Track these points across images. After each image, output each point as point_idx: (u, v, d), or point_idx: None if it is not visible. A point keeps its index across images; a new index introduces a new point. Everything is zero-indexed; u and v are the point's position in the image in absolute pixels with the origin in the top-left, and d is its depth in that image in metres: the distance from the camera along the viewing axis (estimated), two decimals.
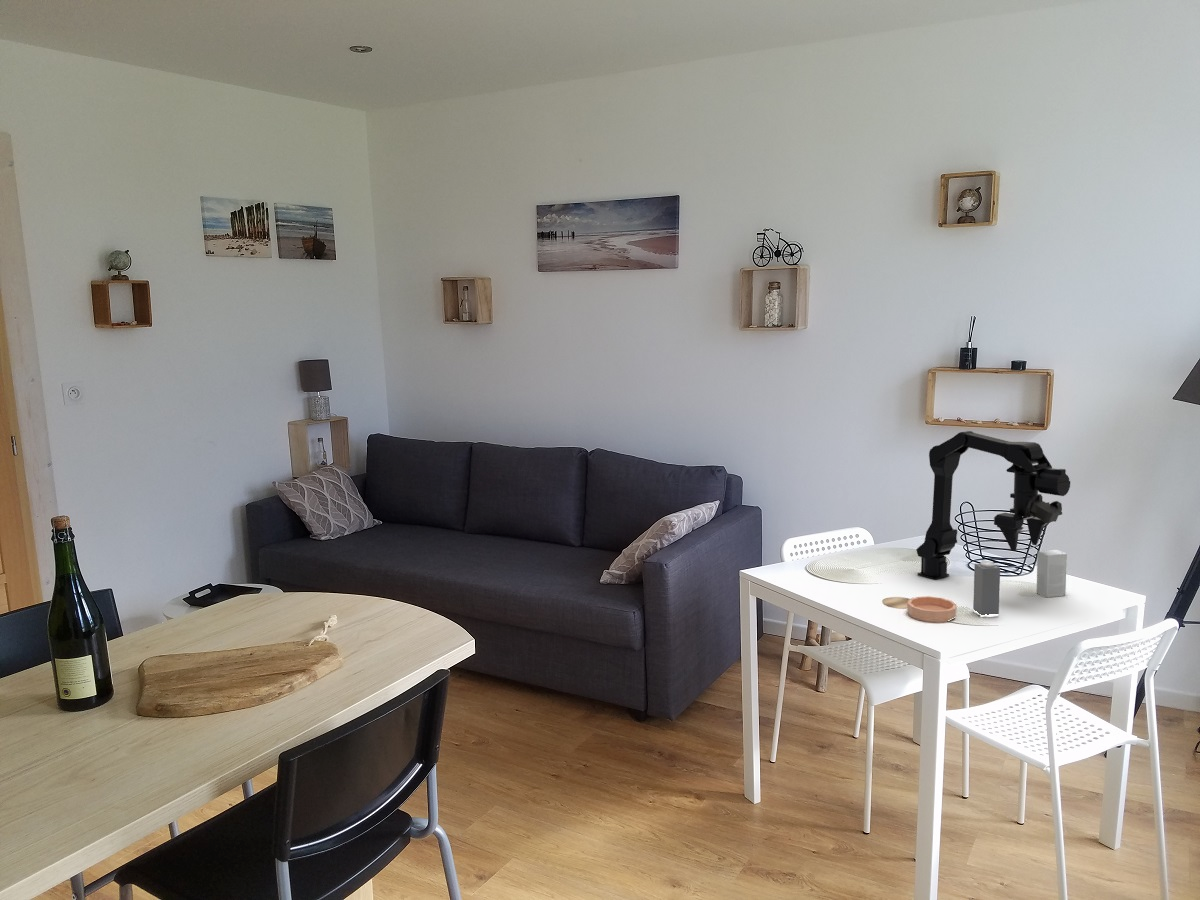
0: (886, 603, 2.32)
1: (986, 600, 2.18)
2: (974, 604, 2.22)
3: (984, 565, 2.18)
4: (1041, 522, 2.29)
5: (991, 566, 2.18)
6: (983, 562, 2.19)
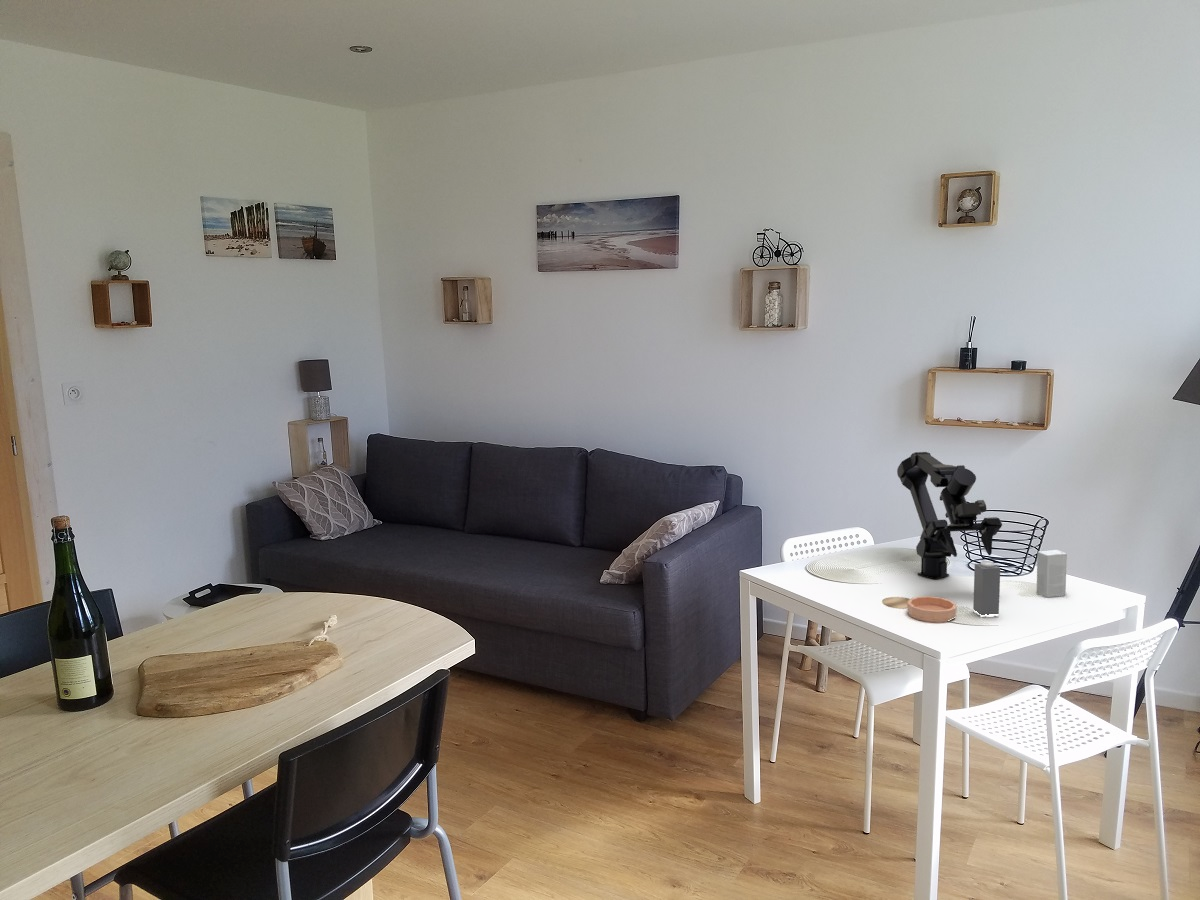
0: (886, 603, 2.32)
1: (986, 600, 2.18)
2: (974, 604, 2.22)
3: (984, 565, 2.18)
4: (986, 530, 2.30)
5: (991, 566, 2.18)
6: (983, 562, 2.19)
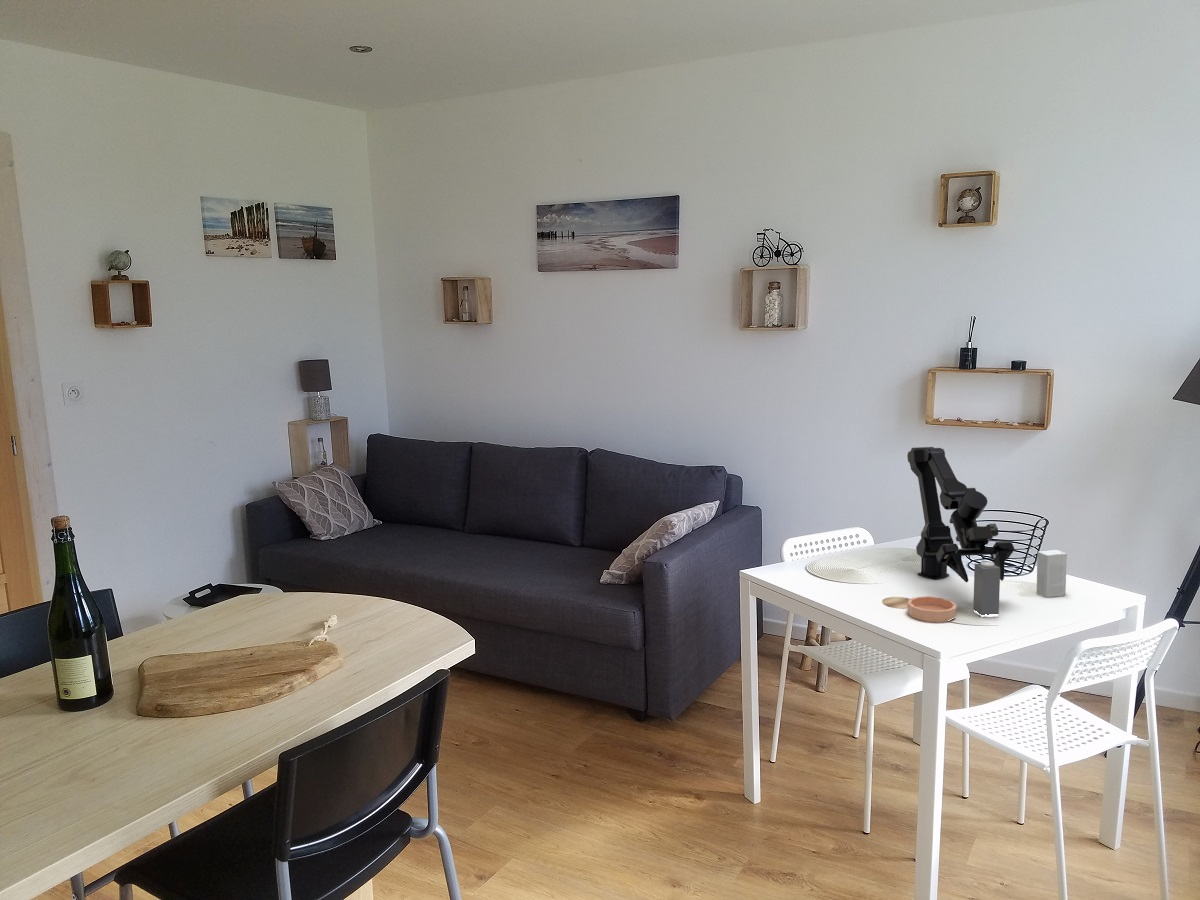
0: (886, 603, 2.32)
1: (986, 600, 2.18)
2: (974, 604, 2.22)
3: (984, 565, 2.18)
4: (998, 555, 2.24)
5: (991, 566, 2.18)
6: (983, 562, 2.19)
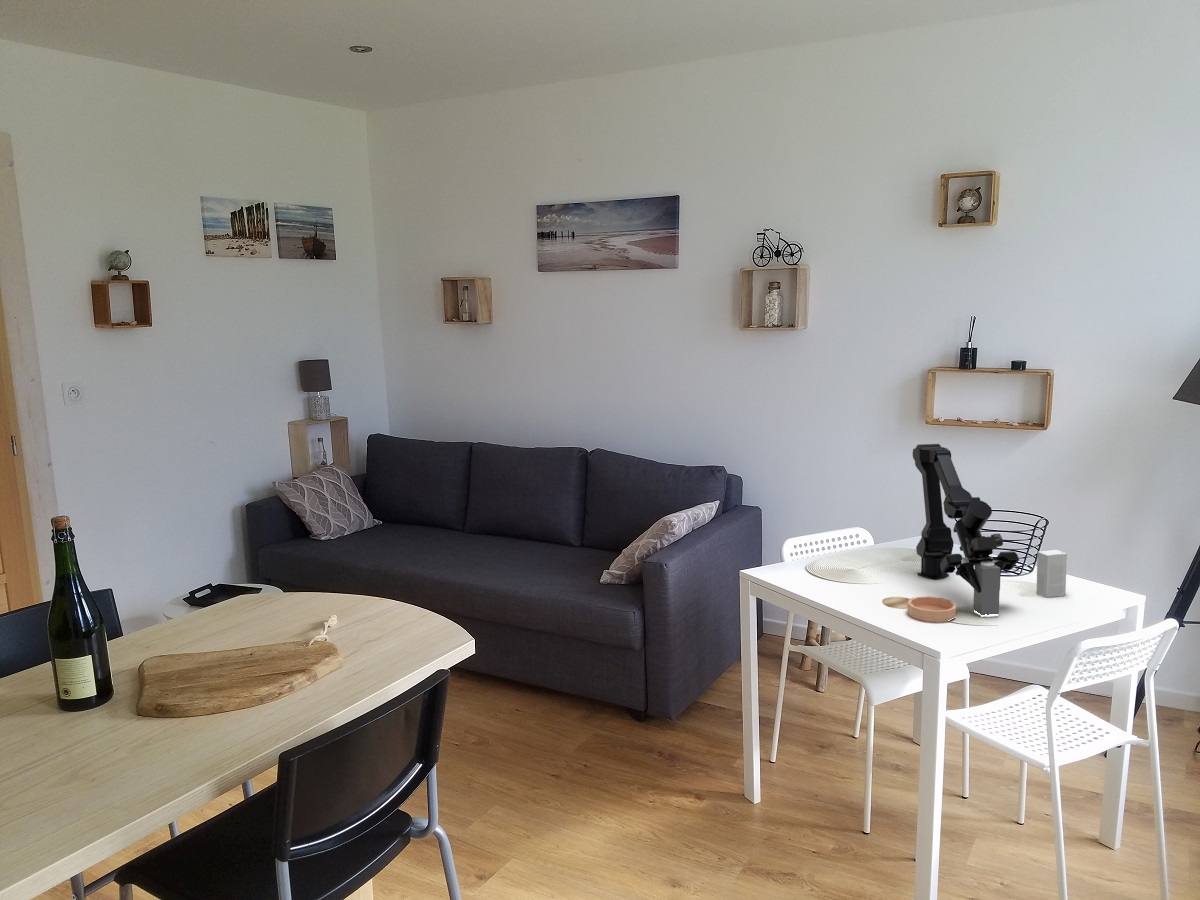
0: (886, 603, 2.32)
1: (986, 600, 2.18)
2: (974, 604, 2.22)
3: (984, 565, 2.18)
4: None
5: (991, 566, 2.18)
6: (983, 562, 2.19)
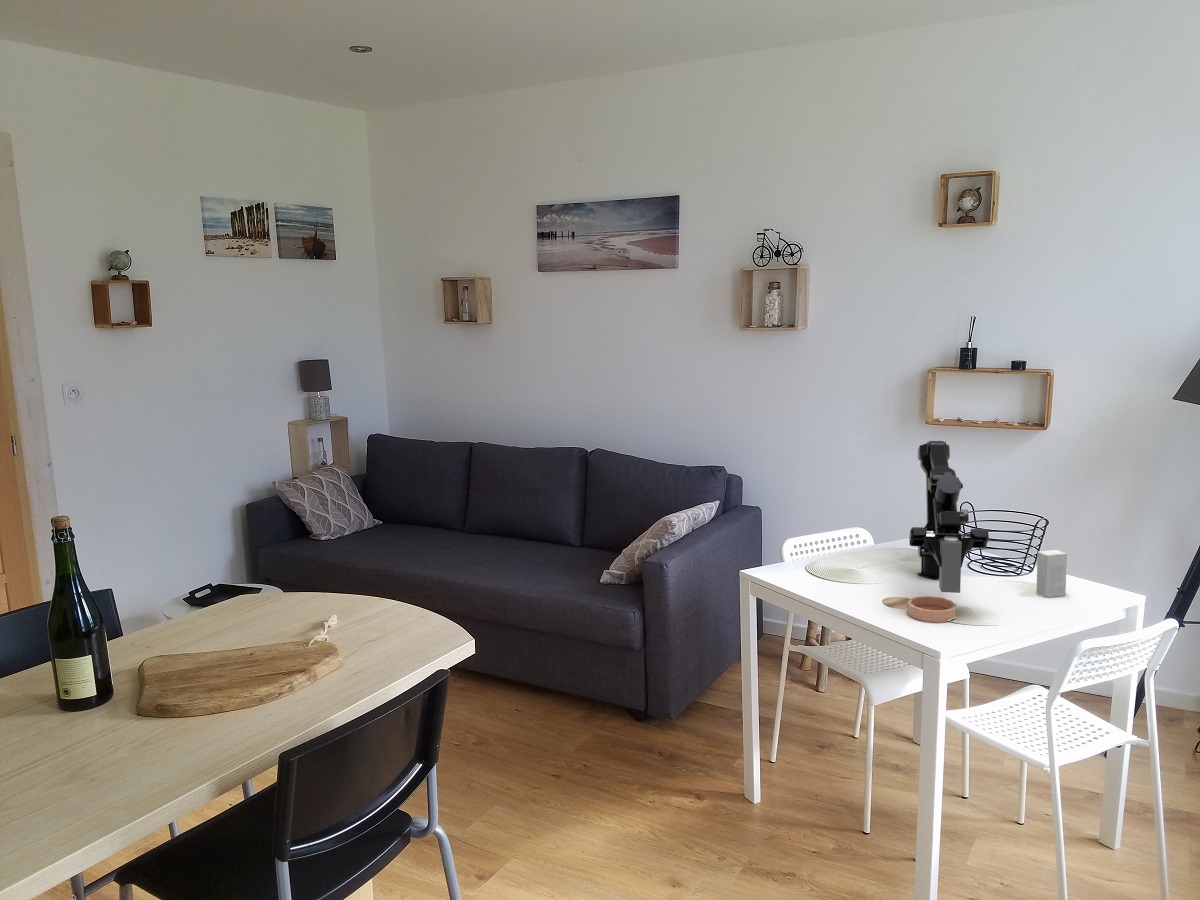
0: (886, 603, 2.32)
1: (946, 574, 2.18)
2: (939, 579, 2.22)
3: (946, 539, 2.18)
4: (961, 542, 2.20)
5: (953, 541, 2.17)
6: (947, 537, 2.19)
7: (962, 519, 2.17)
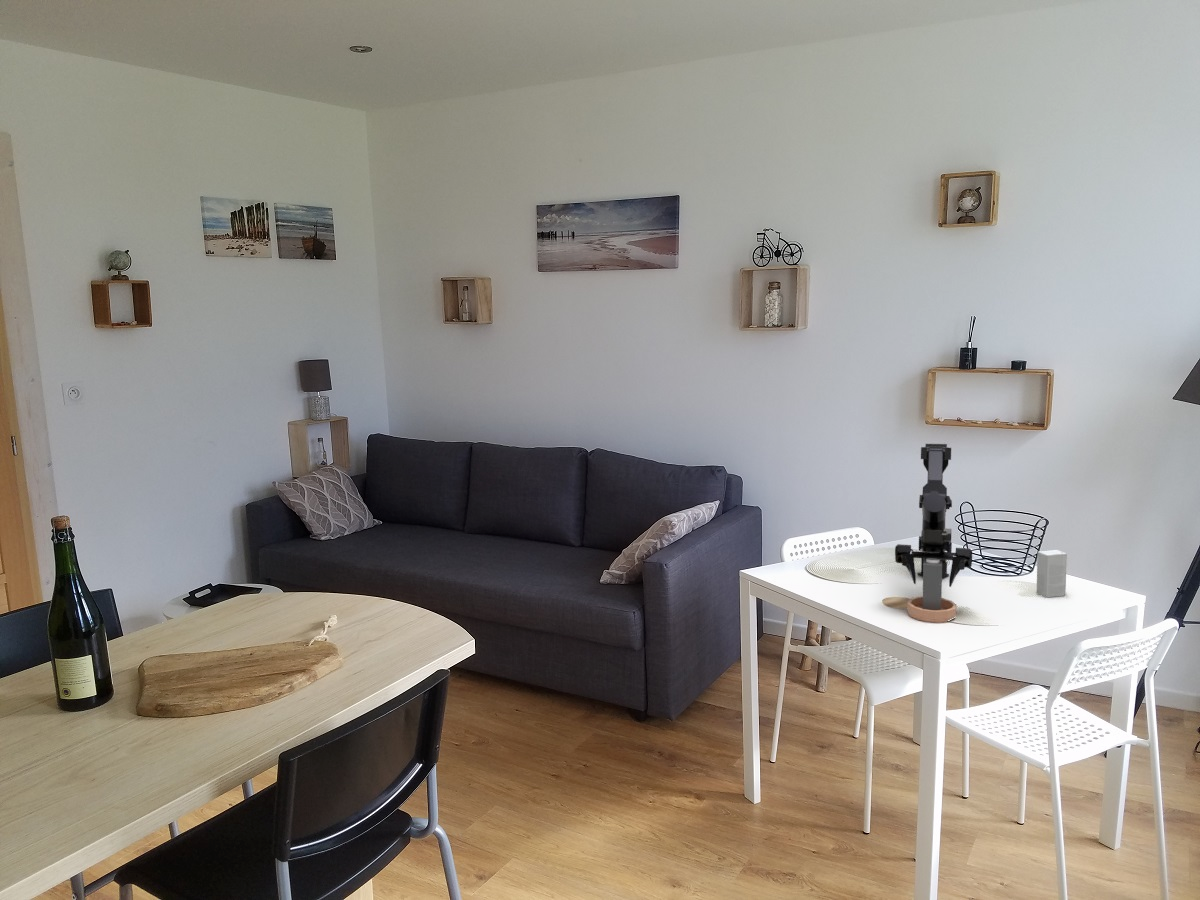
0: (886, 603, 2.32)
1: (927, 596, 2.20)
2: None
3: (927, 561, 2.20)
4: (952, 561, 2.20)
5: (934, 563, 2.19)
6: (929, 559, 2.21)
7: (945, 538, 2.19)
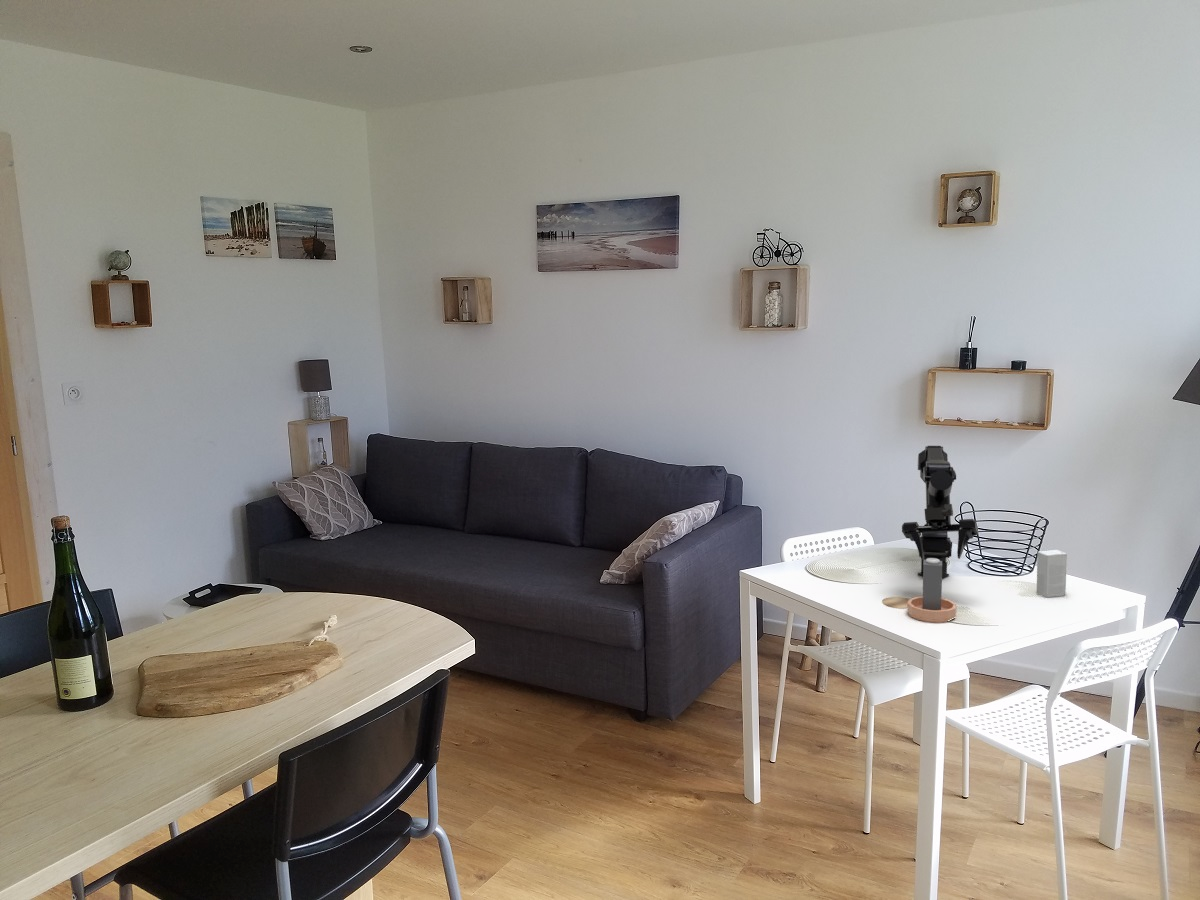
0: (886, 603, 2.32)
1: (927, 596, 2.20)
2: None
3: (927, 561, 2.20)
4: None
5: (934, 563, 2.19)
6: (929, 559, 2.21)
7: (945, 514, 2.26)
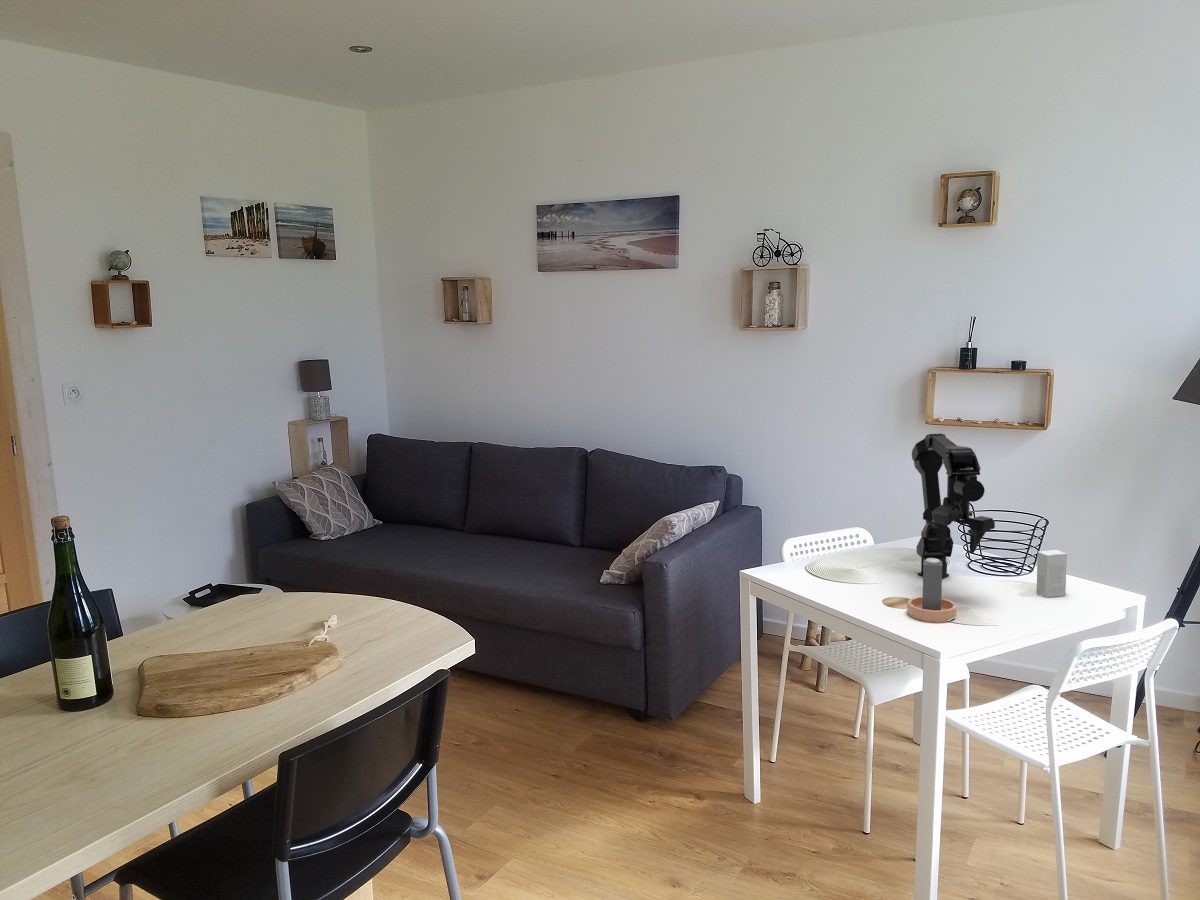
0: (886, 603, 2.32)
1: (927, 596, 2.20)
2: None
3: (927, 561, 2.20)
4: None
5: (934, 563, 2.19)
6: (929, 559, 2.21)
7: (950, 520, 2.27)
